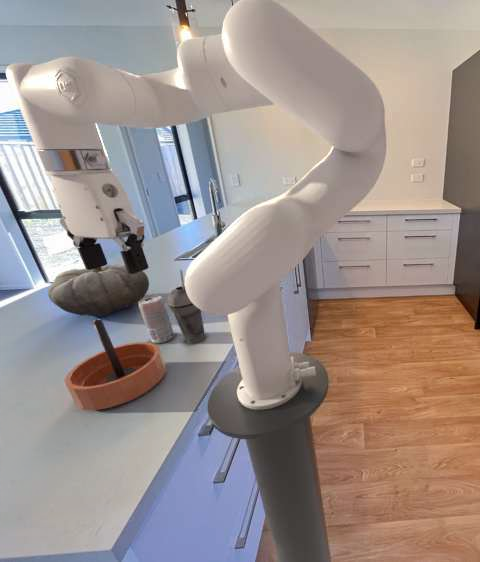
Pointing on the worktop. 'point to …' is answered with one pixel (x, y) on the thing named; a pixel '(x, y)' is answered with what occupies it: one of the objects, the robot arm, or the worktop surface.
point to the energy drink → (156, 319)
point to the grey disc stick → (111, 353)
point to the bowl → (99, 395)
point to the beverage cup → (186, 314)
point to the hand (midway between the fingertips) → (117, 269)
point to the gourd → (98, 290)
